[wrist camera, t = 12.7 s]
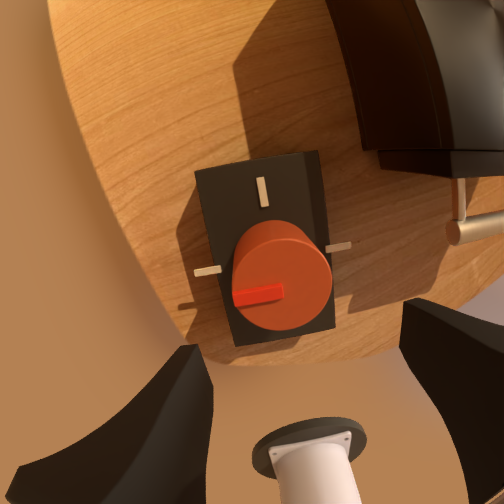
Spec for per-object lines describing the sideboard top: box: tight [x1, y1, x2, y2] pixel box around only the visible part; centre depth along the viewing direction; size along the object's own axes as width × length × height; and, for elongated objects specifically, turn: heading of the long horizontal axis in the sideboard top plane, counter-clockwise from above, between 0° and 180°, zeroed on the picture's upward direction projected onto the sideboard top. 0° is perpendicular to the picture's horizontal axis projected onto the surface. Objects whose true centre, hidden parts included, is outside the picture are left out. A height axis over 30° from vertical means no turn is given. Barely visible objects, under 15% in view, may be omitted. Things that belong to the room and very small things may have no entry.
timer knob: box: [232, 220, 332, 331], centre depth 12 cm, size 4×4×4 cm
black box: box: [325, 0, 504, 151], centre depth 9 cm, size 16×13×9 cm
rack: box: [378, 149, 504, 246], centre depth 10 cm, size 18×11×7 cm, turn 10°
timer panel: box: [194, 150, 351, 347], centre depth 16 cm, size 10×8×3 cm
